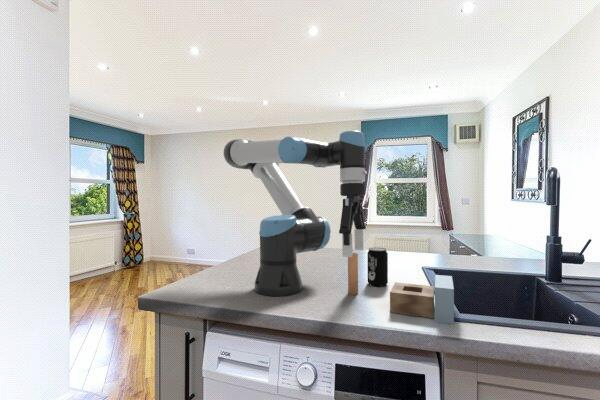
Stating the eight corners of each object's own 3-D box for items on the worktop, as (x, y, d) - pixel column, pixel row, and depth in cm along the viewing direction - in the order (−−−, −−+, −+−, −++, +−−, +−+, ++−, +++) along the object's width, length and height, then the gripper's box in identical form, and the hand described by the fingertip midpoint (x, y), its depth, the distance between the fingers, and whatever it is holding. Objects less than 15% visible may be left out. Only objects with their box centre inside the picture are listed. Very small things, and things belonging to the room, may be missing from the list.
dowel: (346, 294, 93) (346, 254, 93) (349, 291, 96) (349, 252, 96) (356, 295, 92) (356, 255, 92) (359, 292, 95) (358, 253, 95)
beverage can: (388, 287, 100) (388, 250, 100) (367, 286, 101) (367, 250, 101) (387, 282, 107) (386, 247, 106) (367, 281, 108) (367, 246, 108)
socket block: (390, 311, 78) (389, 292, 78) (395, 300, 87) (395, 282, 87) (433, 318, 74) (433, 297, 74) (434, 304, 83) (433, 286, 83)
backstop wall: (434, 321, 72) (434, 287, 72) (435, 304, 84) (435, 274, 84) (454, 324, 71) (453, 289, 71) (452, 306, 83) (451, 276, 83)
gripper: (354, 180, 81) (355, 261, 81) (373, 184, 104) (374, 247, 104) (327, 181, 84) (328, 259, 84) (351, 185, 107) (352, 246, 107)
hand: (353, 253), depth 94 cm, fingers open, 13 cm apart
